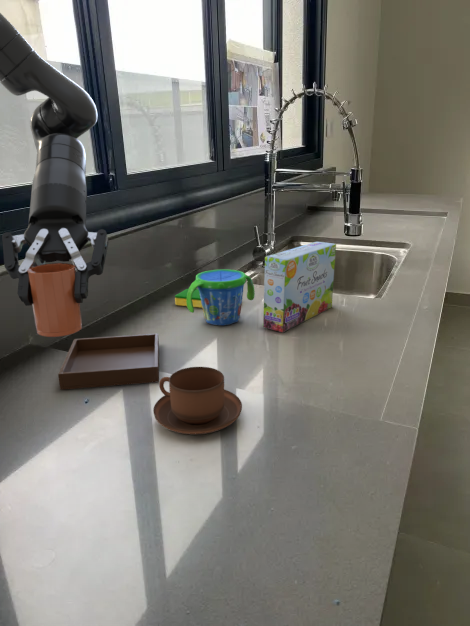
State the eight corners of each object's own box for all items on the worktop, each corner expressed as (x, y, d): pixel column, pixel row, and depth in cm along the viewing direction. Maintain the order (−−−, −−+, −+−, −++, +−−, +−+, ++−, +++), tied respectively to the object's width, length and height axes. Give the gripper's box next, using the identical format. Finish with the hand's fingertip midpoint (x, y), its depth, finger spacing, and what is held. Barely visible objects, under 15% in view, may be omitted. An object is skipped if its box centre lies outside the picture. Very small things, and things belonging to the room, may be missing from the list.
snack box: (285, 334, 98) (286, 259, 94) (262, 328, 102) (262, 256, 97) (334, 307, 114) (337, 242, 110) (312, 303, 118) (314, 239, 113)
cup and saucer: (142, 440, 63) (138, 397, 61) (167, 396, 74) (165, 358, 72) (235, 446, 62) (234, 401, 60) (246, 399, 73) (246, 361, 71)
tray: (60, 389, 77) (57, 374, 76) (75, 352, 91) (74, 338, 90) (158, 382, 79) (157, 366, 78) (159, 346, 93) (158, 333, 92)
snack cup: (197, 334, 99) (195, 285, 96) (179, 319, 108) (176, 274, 105) (265, 322, 105) (265, 275, 102) (243, 308, 114) (243, 265, 111)
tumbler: (32, 338, 64) (22, 274, 61) (42, 323, 69) (33, 264, 67) (78, 335, 65) (70, 272, 62) (84, 321, 70) (78, 262, 68)
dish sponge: (188, 297, 124) (187, 287, 123) (239, 302, 119) (239, 292, 119) (174, 305, 118) (174, 295, 117) (228, 311, 113) (228, 300, 112)
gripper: (-2, 182, 67) (-17, 290, 60) (106, 179, 69) (106, 284, 62) (14, 216, 74) (4, 317, 66) (113, 213, 76) (113, 311, 68)
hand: (53, 301), depth 64 cm, fingers closed on tumbler, 6 cm apart
